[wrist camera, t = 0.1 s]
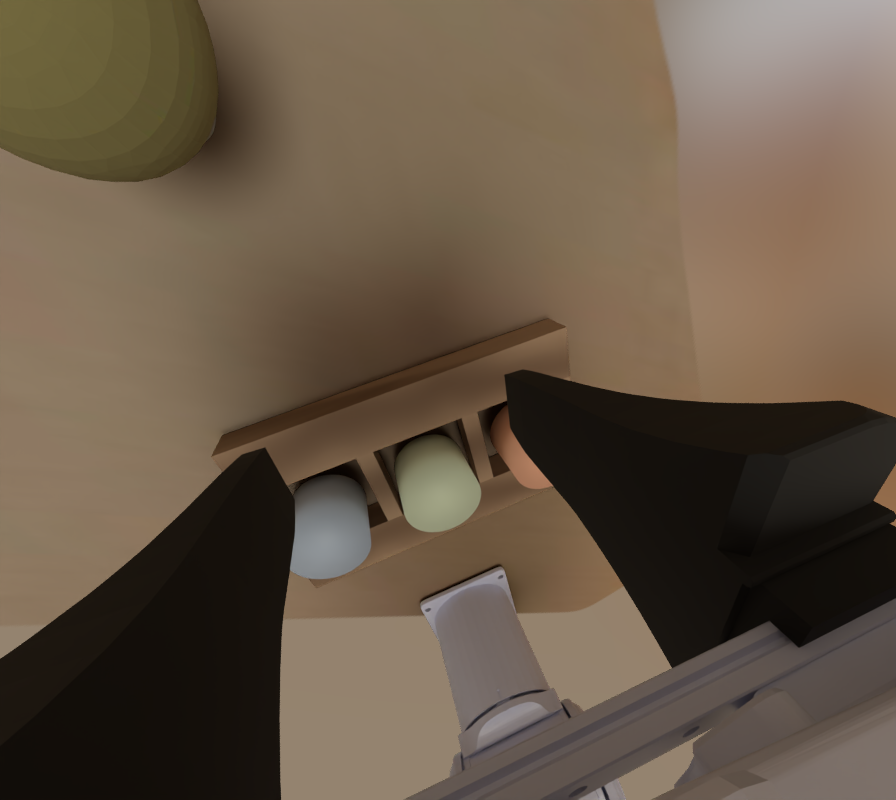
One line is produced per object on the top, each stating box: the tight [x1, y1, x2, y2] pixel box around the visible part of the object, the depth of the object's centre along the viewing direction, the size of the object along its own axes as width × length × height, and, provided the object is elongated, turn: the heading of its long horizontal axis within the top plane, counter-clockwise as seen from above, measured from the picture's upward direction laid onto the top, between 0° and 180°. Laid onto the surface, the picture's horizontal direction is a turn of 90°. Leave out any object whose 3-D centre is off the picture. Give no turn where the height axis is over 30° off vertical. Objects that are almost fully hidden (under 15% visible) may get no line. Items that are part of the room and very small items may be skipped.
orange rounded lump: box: [490, 405, 553, 489], centre depth 21 cm, size 4×4×4 cm
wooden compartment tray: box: [211, 319, 570, 588], centre depth 22 cm, size 12×20×2 cm, turn 105°
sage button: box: [394, 435, 481, 532], centre depth 20 cm, size 4×4×4 cm
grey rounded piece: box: [290, 475, 371, 579], centre depth 20 cm, size 4×4×4 cm
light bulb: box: [0, 0, 218, 182], centre depth 9 cm, size 6×6×10 cm
